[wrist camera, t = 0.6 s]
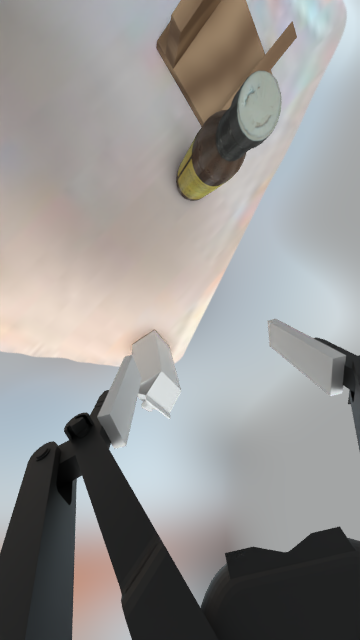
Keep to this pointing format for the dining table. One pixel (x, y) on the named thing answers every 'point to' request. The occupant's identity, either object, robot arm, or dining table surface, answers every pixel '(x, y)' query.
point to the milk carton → (156, 374)
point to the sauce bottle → (230, 136)
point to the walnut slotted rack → (215, 52)
